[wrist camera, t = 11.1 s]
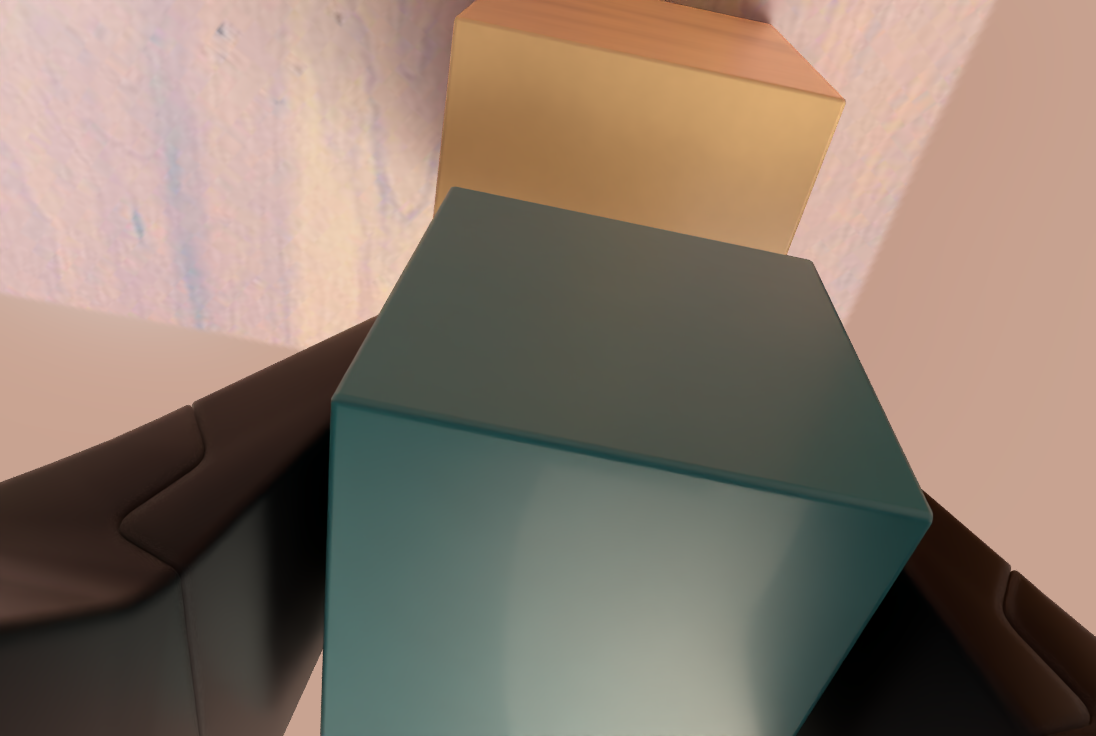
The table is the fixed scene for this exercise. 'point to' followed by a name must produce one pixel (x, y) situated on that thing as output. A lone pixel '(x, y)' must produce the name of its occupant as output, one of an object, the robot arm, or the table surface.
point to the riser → (637, 116)
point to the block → (602, 487)
